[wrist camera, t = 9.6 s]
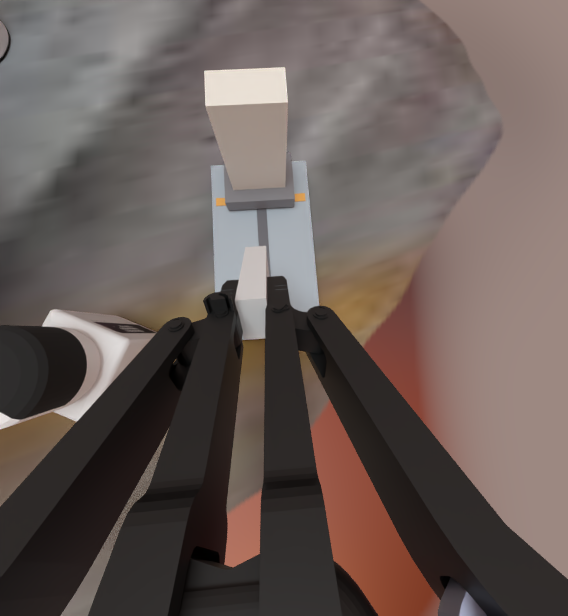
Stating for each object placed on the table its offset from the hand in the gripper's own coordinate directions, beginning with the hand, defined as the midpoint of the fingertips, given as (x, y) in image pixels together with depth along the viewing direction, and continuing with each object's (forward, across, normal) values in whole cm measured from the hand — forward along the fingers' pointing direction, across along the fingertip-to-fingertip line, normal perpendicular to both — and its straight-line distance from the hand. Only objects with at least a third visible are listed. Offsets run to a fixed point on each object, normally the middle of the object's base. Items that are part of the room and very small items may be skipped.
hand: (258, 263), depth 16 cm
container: (+3, -17, -13) cm, 21 cm away
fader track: (+11, 0, -4) cm, 12 cm away
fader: (+15, 0, +3) cm, 15 cm away
